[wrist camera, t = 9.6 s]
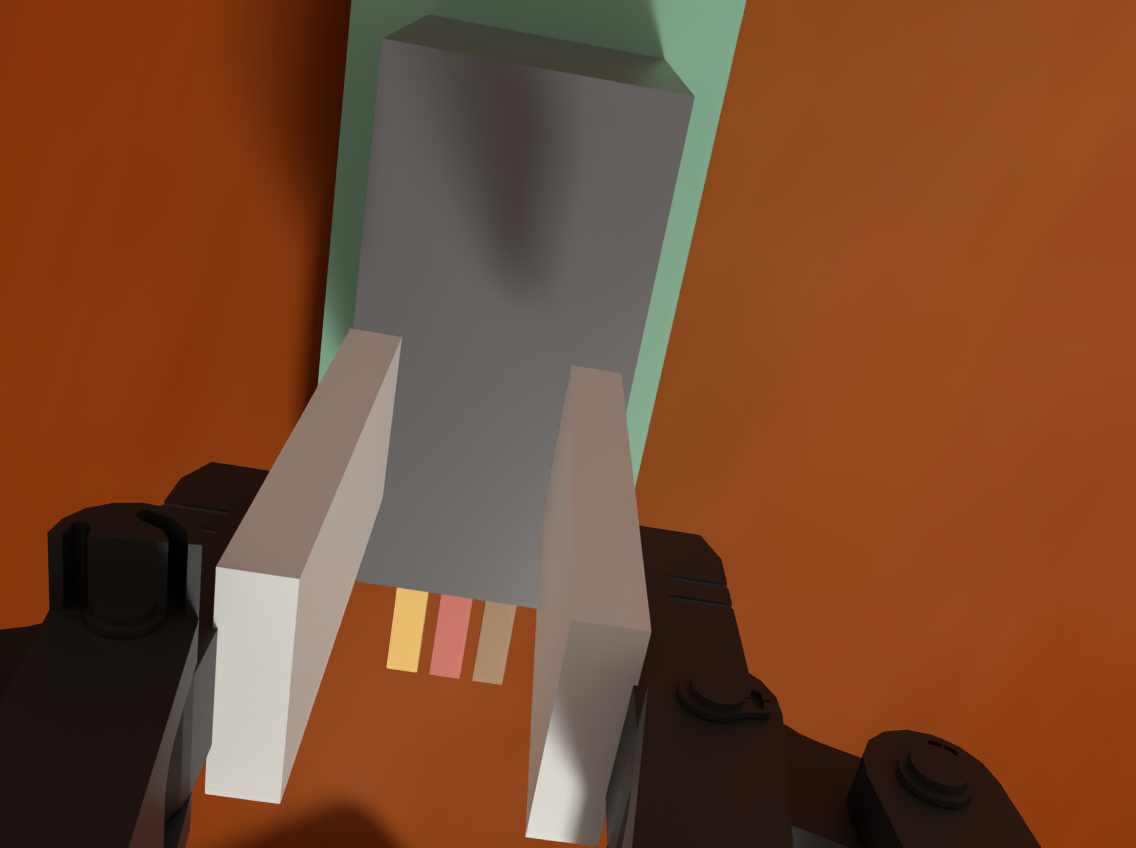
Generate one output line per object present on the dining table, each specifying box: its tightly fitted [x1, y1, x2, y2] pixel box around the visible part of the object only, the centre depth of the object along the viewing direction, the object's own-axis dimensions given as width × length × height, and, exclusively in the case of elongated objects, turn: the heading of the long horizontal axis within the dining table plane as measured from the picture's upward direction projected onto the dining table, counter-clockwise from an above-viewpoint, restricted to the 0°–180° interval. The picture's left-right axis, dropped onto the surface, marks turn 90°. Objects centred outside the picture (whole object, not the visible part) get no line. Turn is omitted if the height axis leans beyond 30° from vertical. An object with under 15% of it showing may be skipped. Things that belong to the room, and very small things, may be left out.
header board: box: [318, 0, 746, 487], centre depth 24 cm, size 8×14×5 cm, turn 170°
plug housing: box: [353, 15, 695, 685], centre depth 23 cm, size 14×5×6 cm, turn 170°
